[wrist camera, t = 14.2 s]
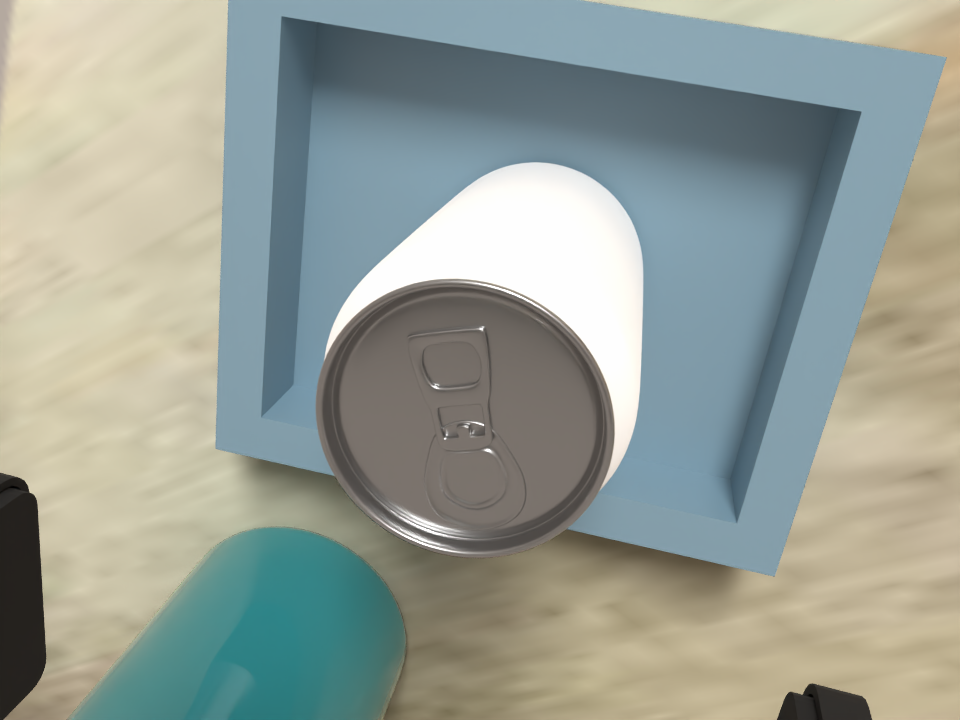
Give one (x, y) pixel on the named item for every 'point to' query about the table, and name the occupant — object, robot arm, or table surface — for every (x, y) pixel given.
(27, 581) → the robot arm
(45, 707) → the table surface
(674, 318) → the tray
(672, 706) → the table surface
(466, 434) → the can
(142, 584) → the table surface
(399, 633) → the cup
